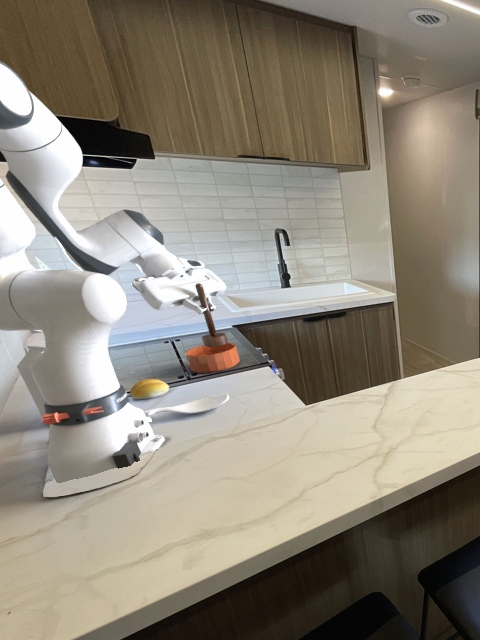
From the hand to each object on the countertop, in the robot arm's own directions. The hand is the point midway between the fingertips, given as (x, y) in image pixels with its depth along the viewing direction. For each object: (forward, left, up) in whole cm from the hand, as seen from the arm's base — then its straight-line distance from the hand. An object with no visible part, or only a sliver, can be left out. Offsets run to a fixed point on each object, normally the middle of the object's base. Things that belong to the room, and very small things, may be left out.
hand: (208, 311), depth 109 cm
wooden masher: (0, 0, -9) cm, 9 cm away
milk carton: (+1, +35, -24) cm, 42 cm away
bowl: (+25, +5, -23) cm, 35 cm away
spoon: (-13, +16, -24) cm, 31 cm away
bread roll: (+8, +20, -24) cm, 32 cm away
